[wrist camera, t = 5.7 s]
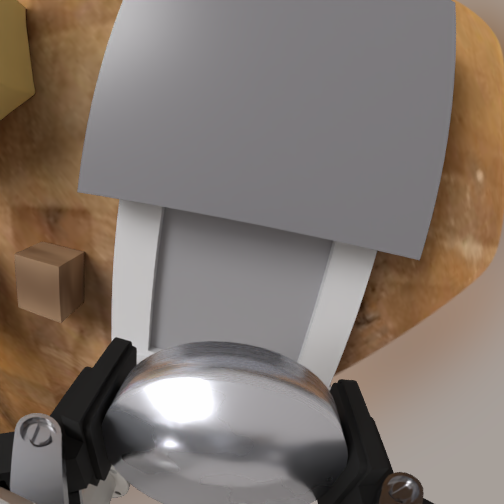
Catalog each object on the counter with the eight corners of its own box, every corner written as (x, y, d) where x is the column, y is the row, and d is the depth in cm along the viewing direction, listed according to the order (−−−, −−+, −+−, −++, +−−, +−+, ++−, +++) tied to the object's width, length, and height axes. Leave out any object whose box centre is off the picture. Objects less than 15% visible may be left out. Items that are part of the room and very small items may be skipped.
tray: (322, 391, 22) (329, 415, 19) (115, 352, 21) (101, 373, 19) (389, 181, 18) (409, 184, 15) (135, 129, 17) (117, 124, 15)
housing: (384, 238, 20) (419, 260, 15) (115, 184, 19) (77, 192, 14) (420, 27, 16) (455, 2, 11) (171, -27, 15) (153, -65, 10)
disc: (371, 361, 8) (391, 400, 6) (299, 491, 9) (302, 524, 8) (115, 314, 7) (88, 348, 6) (125, 462, 9) (113, 493, 8)
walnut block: (83, 302, 21) (61, 323, 18) (43, 289, 21) (18, 307, 18) (84, 251, 20) (58, 266, 17) (42, 241, 20) (14, 253, 17)
